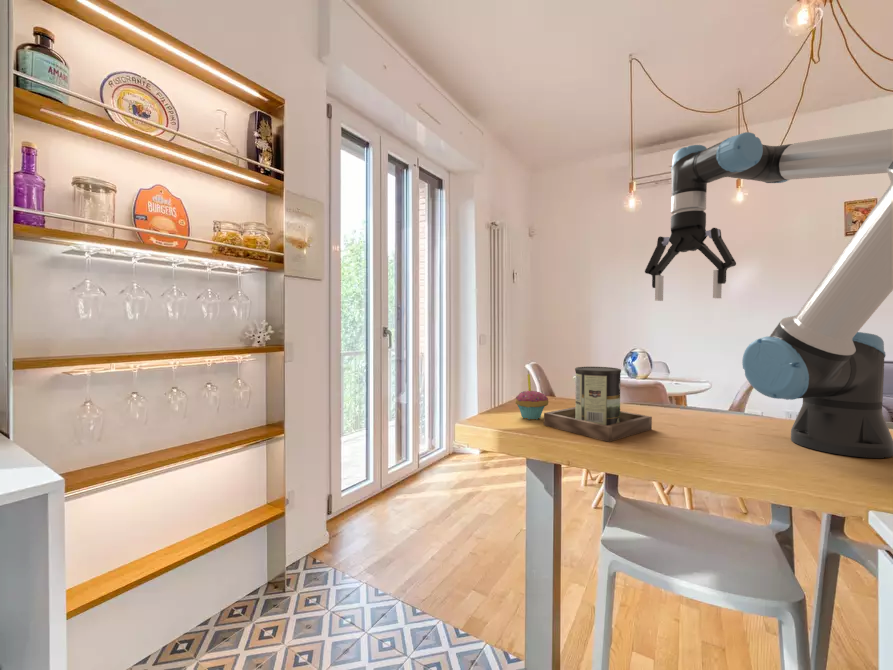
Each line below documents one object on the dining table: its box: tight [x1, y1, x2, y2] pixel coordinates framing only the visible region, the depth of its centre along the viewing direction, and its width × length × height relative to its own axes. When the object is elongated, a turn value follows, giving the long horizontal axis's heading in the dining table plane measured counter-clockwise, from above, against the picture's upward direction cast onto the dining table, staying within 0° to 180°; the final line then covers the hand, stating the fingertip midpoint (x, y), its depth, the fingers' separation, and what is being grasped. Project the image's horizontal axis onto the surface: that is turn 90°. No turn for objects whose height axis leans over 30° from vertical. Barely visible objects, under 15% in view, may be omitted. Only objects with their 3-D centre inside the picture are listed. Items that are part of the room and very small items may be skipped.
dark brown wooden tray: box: [543, 406, 653, 443], centre depth 99 cm, size 17×17×3 cm
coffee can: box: [574, 366, 622, 425], centre depth 99 cm, size 10×10×14 cm
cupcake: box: [514, 370, 550, 420], centre depth 109 cm, size 9×8×12 cm
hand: (686, 299), depth 103 cm, fingers open, 13 cm apart
